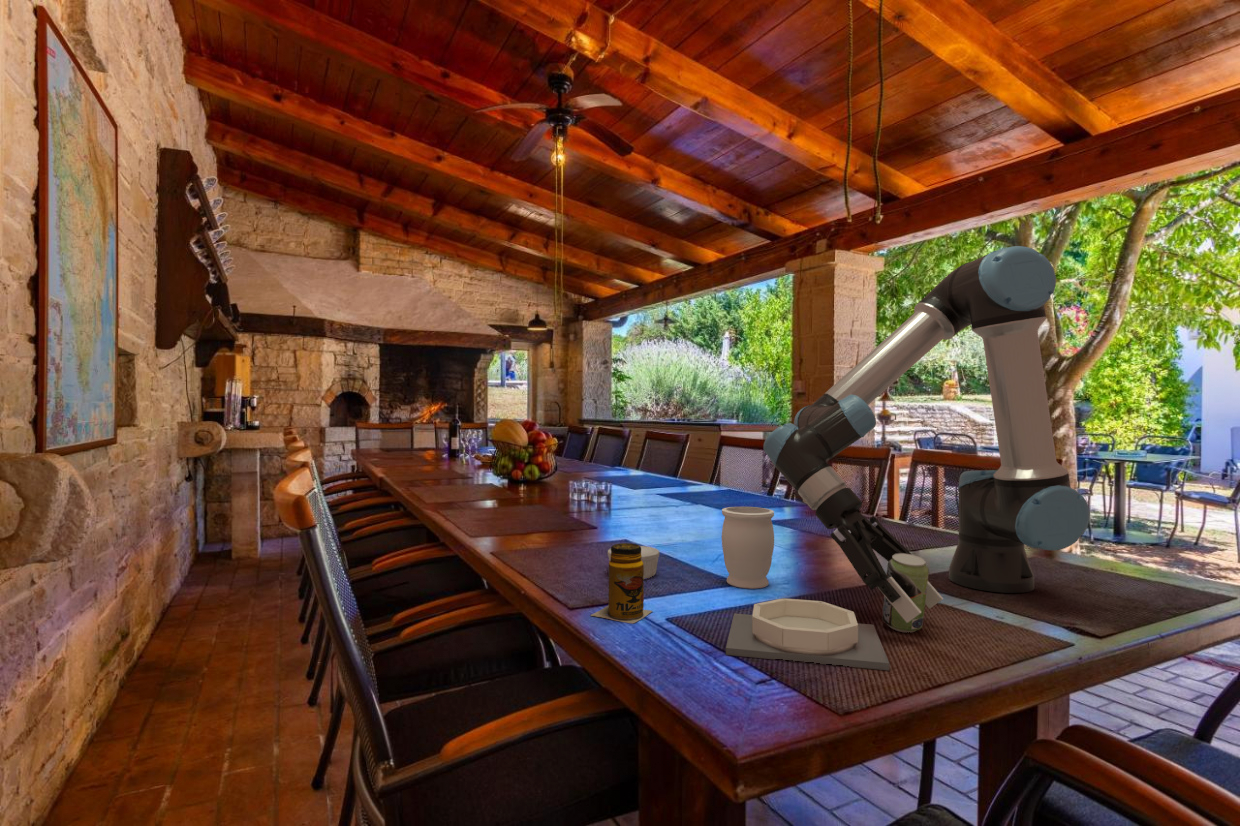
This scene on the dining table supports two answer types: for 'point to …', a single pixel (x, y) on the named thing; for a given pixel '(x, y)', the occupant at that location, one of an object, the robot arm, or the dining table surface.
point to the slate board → (860, 656)
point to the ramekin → (647, 560)
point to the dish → (805, 626)
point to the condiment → (625, 585)
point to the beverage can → (907, 590)
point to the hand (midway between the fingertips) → (925, 610)
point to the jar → (747, 545)
